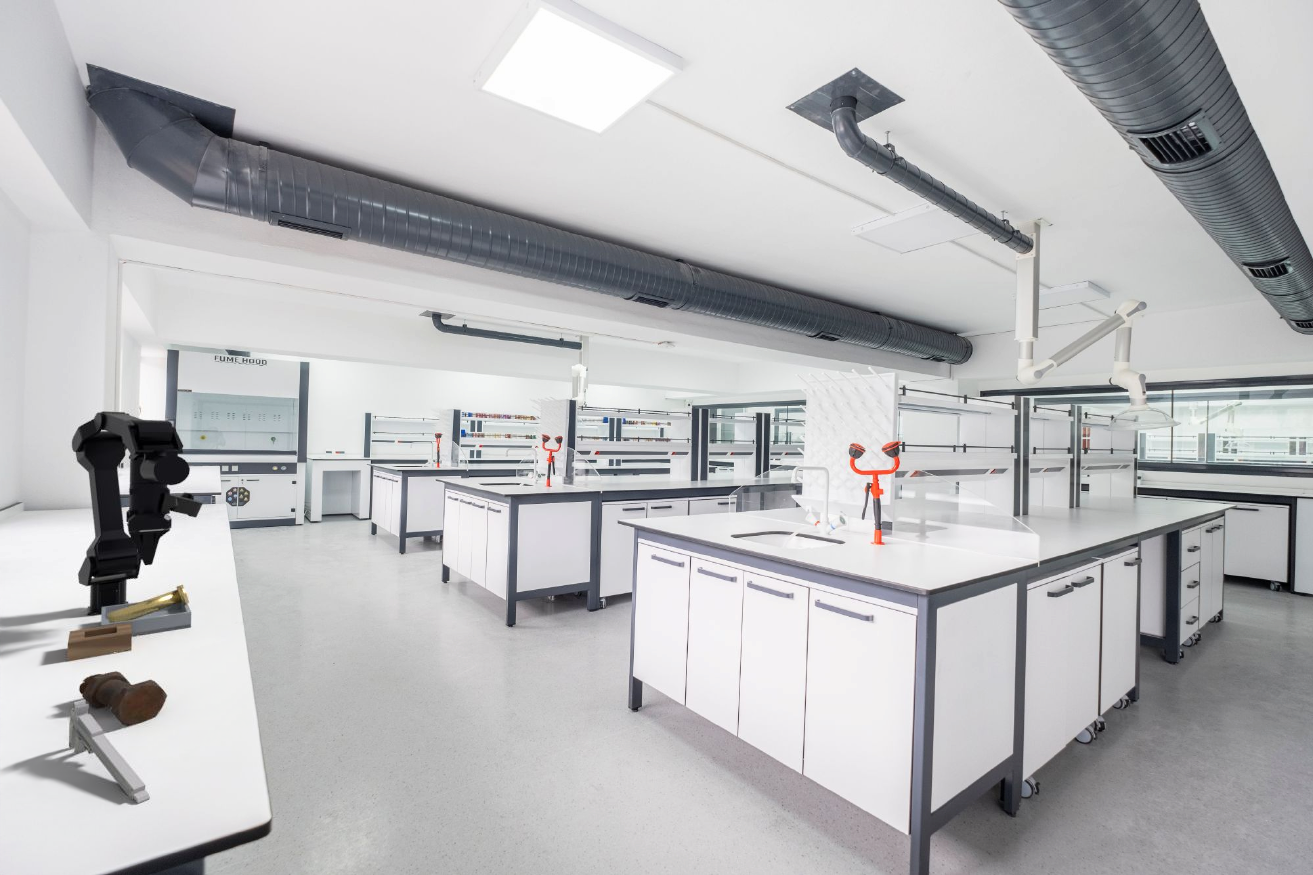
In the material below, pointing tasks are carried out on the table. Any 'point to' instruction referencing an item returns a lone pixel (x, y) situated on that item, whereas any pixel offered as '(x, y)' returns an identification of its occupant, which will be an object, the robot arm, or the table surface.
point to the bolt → (124, 697)
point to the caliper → (103, 751)
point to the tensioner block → (99, 641)
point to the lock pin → (149, 606)
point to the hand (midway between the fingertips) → (147, 561)
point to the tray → (153, 619)
